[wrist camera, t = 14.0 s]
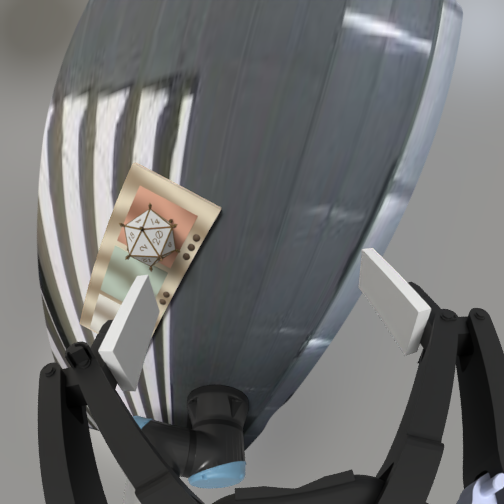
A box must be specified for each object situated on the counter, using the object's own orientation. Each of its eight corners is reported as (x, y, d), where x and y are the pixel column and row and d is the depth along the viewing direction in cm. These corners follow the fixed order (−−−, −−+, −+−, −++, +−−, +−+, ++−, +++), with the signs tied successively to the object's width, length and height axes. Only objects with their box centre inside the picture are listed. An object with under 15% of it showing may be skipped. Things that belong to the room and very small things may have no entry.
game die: (157, 209, 43) (141, 182, 34) (196, 240, 43) (188, 219, 33) (122, 252, 41) (96, 235, 32) (160, 285, 41) (141, 277, 31)
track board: (143, 351, 53) (142, 355, 52) (81, 320, 49) (79, 324, 48) (221, 207, 42) (220, 210, 40) (135, 162, 38) (132, 163, 36)
